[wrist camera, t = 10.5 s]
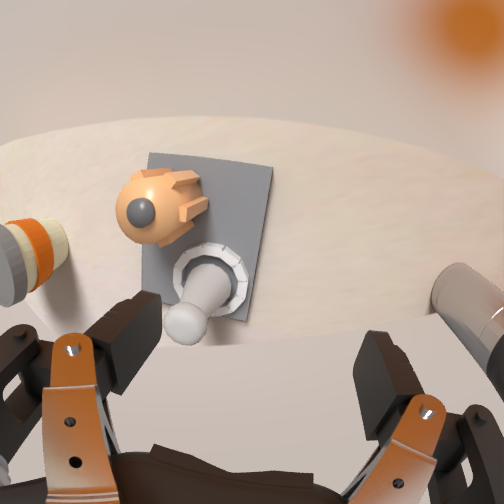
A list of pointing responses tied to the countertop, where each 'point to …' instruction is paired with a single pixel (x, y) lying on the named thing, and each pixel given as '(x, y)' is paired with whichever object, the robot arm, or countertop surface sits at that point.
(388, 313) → the countertop surface
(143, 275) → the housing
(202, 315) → the salt shaker
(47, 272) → the reusable coffee cup
